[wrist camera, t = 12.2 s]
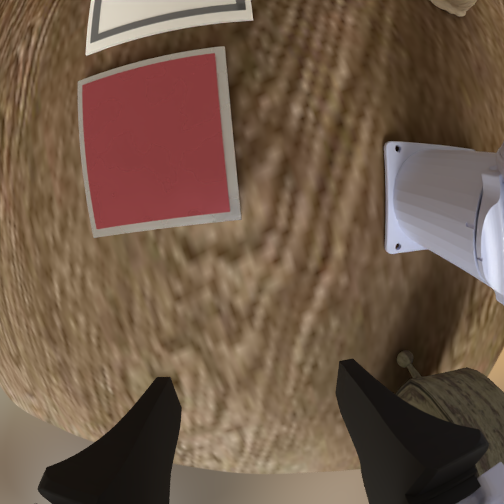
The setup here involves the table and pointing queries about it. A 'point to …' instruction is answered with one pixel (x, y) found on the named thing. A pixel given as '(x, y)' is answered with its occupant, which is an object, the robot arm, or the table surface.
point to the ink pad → (159, 144)
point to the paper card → (155, 18)
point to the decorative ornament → (454, 6)
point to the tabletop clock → (459, 404)
